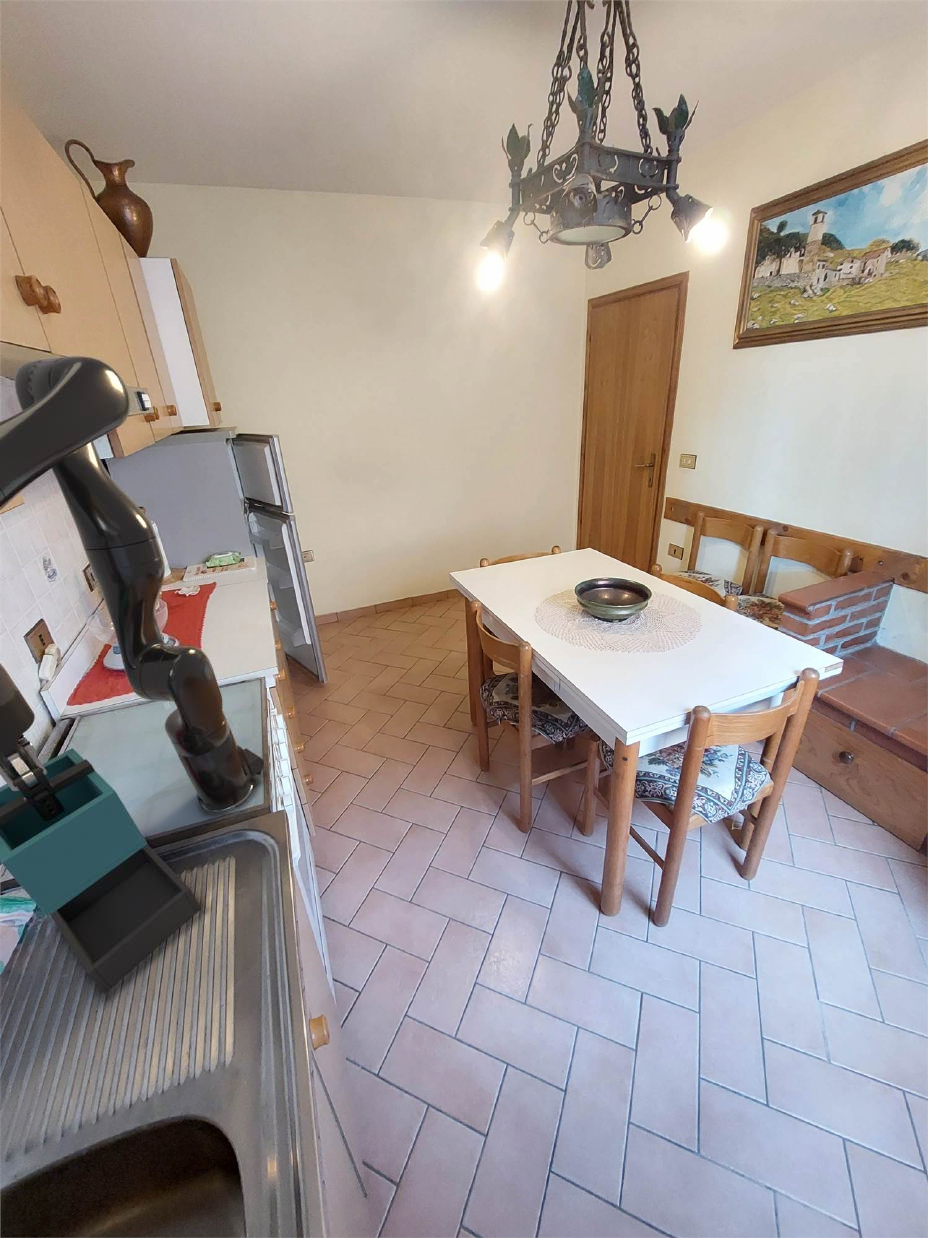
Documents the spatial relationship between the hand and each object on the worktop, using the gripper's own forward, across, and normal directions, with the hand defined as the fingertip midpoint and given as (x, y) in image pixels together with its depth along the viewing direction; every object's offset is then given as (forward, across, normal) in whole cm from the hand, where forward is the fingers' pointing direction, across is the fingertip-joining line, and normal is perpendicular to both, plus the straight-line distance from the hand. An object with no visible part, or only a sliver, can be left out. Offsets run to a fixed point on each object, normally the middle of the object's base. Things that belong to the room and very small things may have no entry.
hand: (51, 810), depth 62 cm
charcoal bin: (+26, +2, 0) cm, 26 cm away
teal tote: (+8, 0, 0) cm, 8 cm away
